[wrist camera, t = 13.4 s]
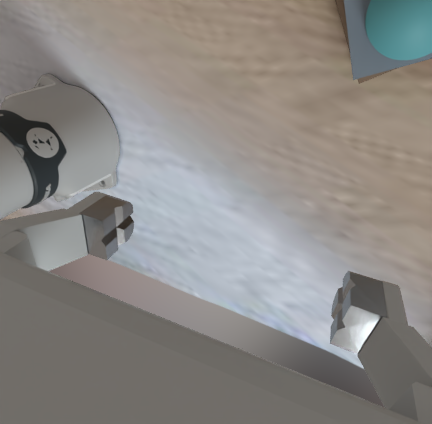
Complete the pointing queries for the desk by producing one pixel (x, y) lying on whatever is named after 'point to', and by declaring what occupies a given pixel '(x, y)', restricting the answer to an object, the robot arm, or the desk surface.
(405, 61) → the slate-grey upper block
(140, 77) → the desk surface
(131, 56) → the desk surface
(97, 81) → the desk surface
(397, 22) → the teal cylinder
